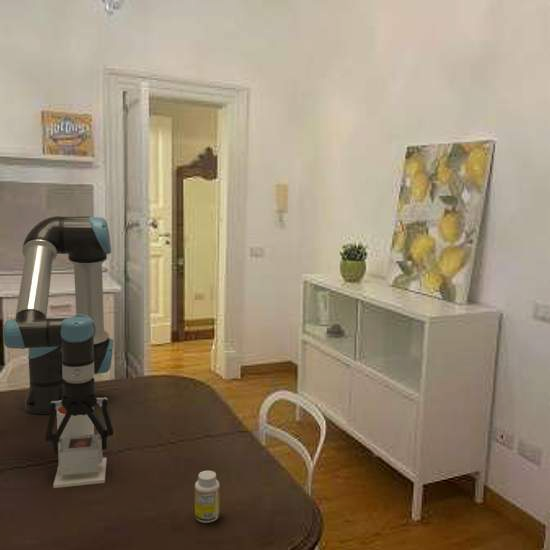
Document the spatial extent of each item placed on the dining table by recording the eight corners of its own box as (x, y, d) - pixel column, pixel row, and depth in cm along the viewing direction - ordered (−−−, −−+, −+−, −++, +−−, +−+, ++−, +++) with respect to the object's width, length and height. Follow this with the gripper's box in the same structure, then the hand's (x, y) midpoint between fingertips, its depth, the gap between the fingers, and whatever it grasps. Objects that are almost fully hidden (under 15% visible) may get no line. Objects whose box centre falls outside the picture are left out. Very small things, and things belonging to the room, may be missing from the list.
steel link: (64, 458, 145) (63, 436, 144) (100, 454, 147) (99, 433, 146) (60, 475, 136) (59, 452, 135) (98, 471, 138) (98, 449, 137)
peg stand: (59, 464, 146) (58, 436, 145) (106, 460, 149) (105, 432, 148) (53, 488, 134) (52, 457, 133) (104, 482, 138) (104, 452, 136)
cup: (82, 450, 154) (81, 416, 153) (50, 446, 156) (49, 413, 155) (100, 435, 164) (99, 403, 162) (70, 431, 166) (69, 400, 164)
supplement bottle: (207, 507, 128) (208, 465, 127) (224, 516, 125) (225, 474, 123) (189, 517, 124) (189, 474, 122) (206, 527, 120) (206, 483, 119)
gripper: (29, 386, 132) (33, 474, 135) (123, 381, 137) (124, 465, 141) (34, 376, 139) (37, 460, 142) (123, 371, 144) (124, 452, 148)
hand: (81, 462), depth 141 cm, fingers closed on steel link, 9 cm apart
